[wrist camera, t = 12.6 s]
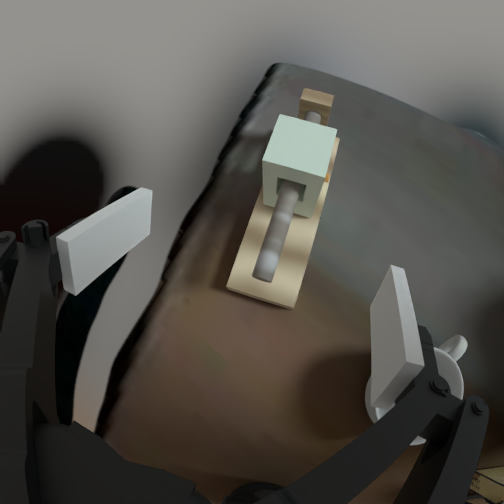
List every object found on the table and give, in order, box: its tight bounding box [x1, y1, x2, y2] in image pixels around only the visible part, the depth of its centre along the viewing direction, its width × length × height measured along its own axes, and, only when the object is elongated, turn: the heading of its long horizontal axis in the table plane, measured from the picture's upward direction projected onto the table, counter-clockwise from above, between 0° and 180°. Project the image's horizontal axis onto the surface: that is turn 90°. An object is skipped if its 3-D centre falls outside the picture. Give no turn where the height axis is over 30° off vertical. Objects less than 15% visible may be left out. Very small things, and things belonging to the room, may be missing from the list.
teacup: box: [365, 335, 467, 445], centre depth 30 cm, size 14×11×8 cm
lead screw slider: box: [226, 88, 340, 310], centre depth 35 cm, size 24×8×10 cm, turn 162°
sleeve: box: [262, 114, 337, 218], centre depth 34 cm, size 6×6×10 cm
